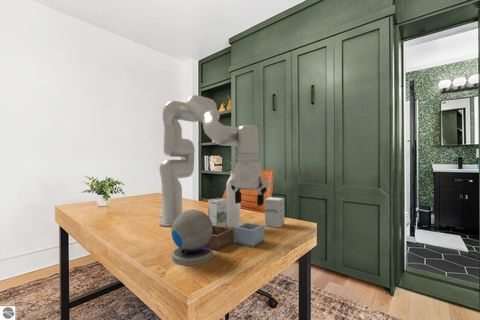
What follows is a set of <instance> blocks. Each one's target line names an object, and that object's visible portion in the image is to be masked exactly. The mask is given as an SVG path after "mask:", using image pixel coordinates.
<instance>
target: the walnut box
mask: <svg viewBox="0 0 480 320" xmlns="http://www.w3.org/2000/svg"><path fill="white" fill-rule="evenodd" d="M234 243H235V228H231V227H227V228H226V227H221V226H215V225H213V232H212V236H211V239H210V241H209V242H208V244H207V245H206V246H205V248H208V249H209V250H212V251H216V252H217V251H220V250H222V249H223V248H226V247H228V246H229V245H232V244H234Z"/></svg>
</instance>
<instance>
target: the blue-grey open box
mask: <svg viewBox="0 0 480 320" xmlns="http://www.w3.org/2000/svg"><path fill="white" fill-rule="evenodd" d="M263 242H265V224H259V223H258V224H257V223H253V222H252V223H251V222H244V223H241V225H239V226H236V227H235V228H234V244H235V245H240V246H244V247H248V248H251V249H252V248H253V249H254V248H256V247H257V246H258V245H261V243H263Z"/></svg>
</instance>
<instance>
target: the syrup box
mask: <svg viewBox="0 0 480 320" xmlns="http://www.w3.org/2000/svg"><path fill="white" fill-rule="evenodd" d="M207 201H208V202H207V203H208V209H207V210H208V212H207V213H208V215H207V216H208V217H209V218H210V220H211V222H212V226H213V225H215V226H221V227H226V228H228V226H227V198H226V199H225V198H220V197H217V198H211V199H207Z"/></svg>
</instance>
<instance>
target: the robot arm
mask: <svg viewBox="0 0 480 320" xmlns="http://www.w3.org/2000/svg"><path fill="white" fill-rule="evenodd" d="M220 115H221V113H220V111H219V109H218V105H217V103H216V102H215V100H213V99H212V98H210V97H209V98H208V97H205V96H201V95H197V94H196V95H191V96H189V97H188V98H187V100H186V102H183V101H179V100H170V101H167V102H166V104H164V107H163V108H162V122H163V153H164V155H165V156H167V157H173V158H180V159H166V160H164V161H162V162H161V163H160V165H159V169H158V170H159V175H160V180H161V209H162V211H161V214H159V215H158V218H160V219H161V220H159V221H158V225H160V226H162V227H172V225H173V223H174V221H175V219H176V218H177V217H178V216H179V215H180V214H181V213H183V190H182V189H183V187H182V184H181V182H180V181H179V179H186V178H190V177H192V175H193V173H194V169H195V151H196V150H195V144H194V143H193V141H192V140H191V139H188V138H183V129H182V125H181V123H180V122H179V121H186V122H191V123H196V122H201V124H202V128H203V131H204V134H206V136H207V137H208V138H209V139H210V140H211V141H212V142H214V143H215V144H217V145H219V146H229V147H237V149H238V150H237V151H238V153H237V155H236V156H235V157H236V160H237V161H238V162H237V161H236V164H235V169H234V173H235V178H234V179H232V180H231V181H229V183H230V185H231V188H232V189H233V192H234V193H235V203H240V204H241V203H242V192H241V190H255V191H256V192H257V195H256V196H257V197H256V203H257V206H258V207H261V206H263V205H264V204H265V194H266V192H267V191H268V190H269V187H270V185H271V182H270V181H268V180H267V179H265V178H263V172H262V166H261V162H260V161H259V129H258V127H257V126H256V125H254V124H244V125H240V126H238V127H235V126H229V125H224V124H222V123H221V122H220V121H219V119H220V118H221V117H220ZM263 185H264V186H263Z"/></svg>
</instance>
